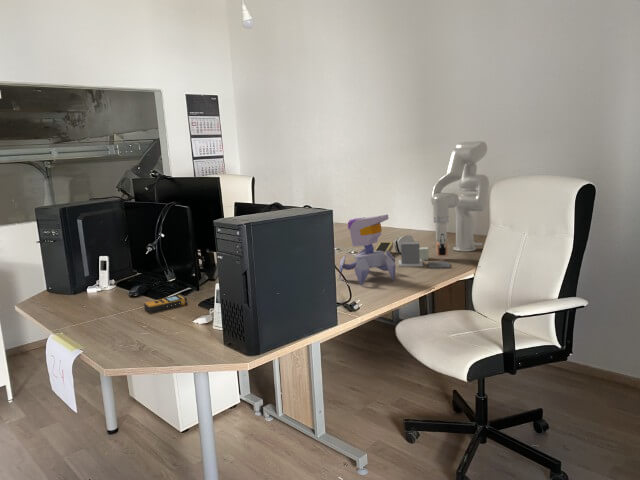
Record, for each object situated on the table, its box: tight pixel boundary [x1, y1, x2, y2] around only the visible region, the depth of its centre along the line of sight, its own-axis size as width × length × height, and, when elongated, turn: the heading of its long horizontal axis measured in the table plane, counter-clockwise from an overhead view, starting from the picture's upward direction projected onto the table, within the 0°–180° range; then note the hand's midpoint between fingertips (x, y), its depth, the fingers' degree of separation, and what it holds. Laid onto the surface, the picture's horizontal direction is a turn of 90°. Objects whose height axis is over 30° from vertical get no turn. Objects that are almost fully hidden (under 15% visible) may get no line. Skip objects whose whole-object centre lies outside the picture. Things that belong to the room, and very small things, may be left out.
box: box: [374, 241, 394, 259], centre depth 272 cm, size 8×22×5 cm, turn 160°
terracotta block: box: [436, 241, 448, 257], centre depth 256 cm, size 5×5×6 cm
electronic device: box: [143, 294, 188, 313], centre depth 203 cm, size 8×16×3 cm, turn 126°
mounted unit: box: [397, 241, 424, 268], centre depth 250 cm, size 12×10×11 cm
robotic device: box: [338, 214, 397, 287], centre depth 226 cm, size 26×25×30 cm
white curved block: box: [393, 235, 415, 254], centre depth 282 cm, size 17×5×10 cm, turn 139°
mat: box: [427, 261, 451, 269], centre depth 245 cm, size 10×10×1 cm
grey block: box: [419, 246, 429, 261], centre depth 260 cm, size 5×5×6 cm
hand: (441, 253), depth 257 cm, fingers closed on terracotta block, 5 cm apart
